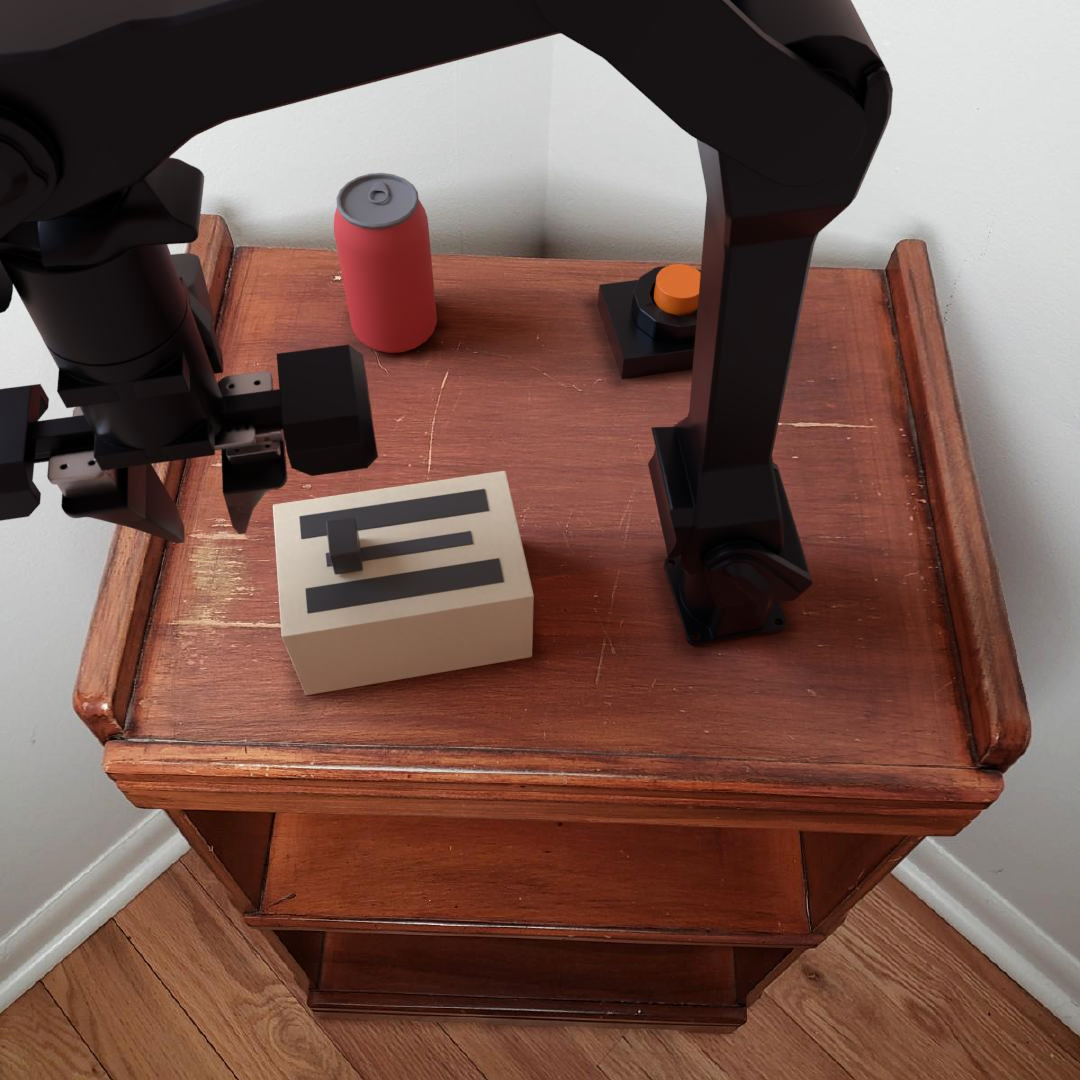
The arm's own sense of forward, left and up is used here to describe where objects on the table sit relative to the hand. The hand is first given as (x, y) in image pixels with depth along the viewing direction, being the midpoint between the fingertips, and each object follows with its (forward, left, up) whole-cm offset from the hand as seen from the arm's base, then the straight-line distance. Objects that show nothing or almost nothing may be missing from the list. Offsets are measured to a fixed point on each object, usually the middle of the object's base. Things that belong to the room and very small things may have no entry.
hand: (211, 531), depth 54 cm
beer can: (+25, -12, -12) cm, 31 cm away
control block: (+21, -33, -12) cm, 41 cm away
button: (+21, -32, -8) cm, 40 cm away
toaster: (0, -10, -12) cm, 15 cm away
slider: (0, -7, -4) cm, 8 cm away
